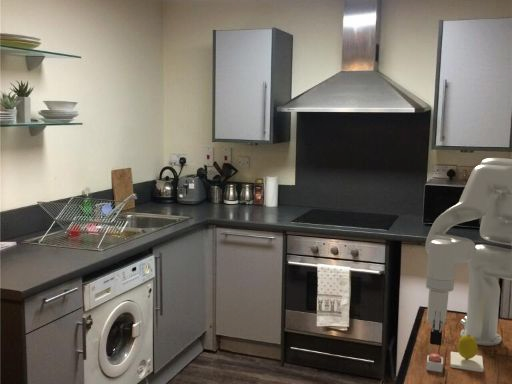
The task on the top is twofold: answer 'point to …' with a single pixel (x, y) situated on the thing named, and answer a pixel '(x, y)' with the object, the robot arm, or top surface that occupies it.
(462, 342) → the lemon
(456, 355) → the paper pad
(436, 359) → the button
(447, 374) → the top surface
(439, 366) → the button base
